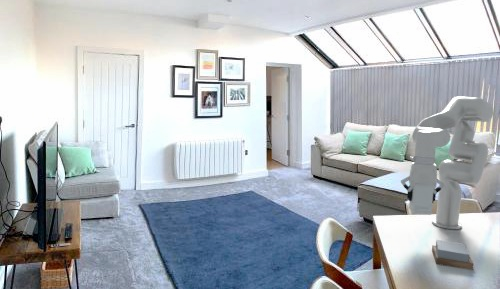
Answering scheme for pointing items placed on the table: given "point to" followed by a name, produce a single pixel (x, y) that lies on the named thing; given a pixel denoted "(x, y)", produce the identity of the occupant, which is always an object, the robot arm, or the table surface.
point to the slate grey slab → (452, 250)
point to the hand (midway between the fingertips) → (420, 200)
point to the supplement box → (421, 199)
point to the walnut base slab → (452, 261)
